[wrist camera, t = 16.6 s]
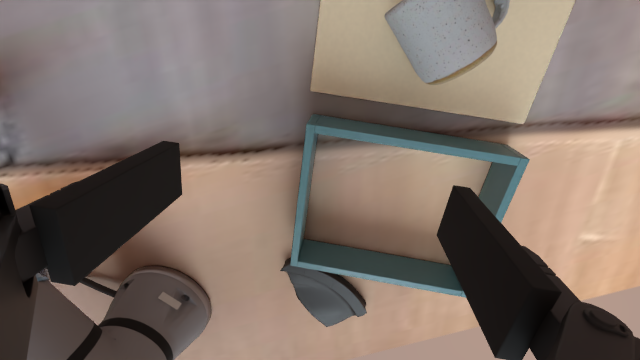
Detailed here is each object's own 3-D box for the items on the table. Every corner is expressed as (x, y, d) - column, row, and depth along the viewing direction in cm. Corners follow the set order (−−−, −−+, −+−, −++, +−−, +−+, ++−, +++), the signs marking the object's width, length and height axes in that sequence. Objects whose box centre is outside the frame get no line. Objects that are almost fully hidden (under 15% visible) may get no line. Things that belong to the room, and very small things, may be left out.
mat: (310, 90, 35) (310, 91, 34) (334, -113, 27) (333, -115, 27) (522, 123, 34) (523, 124, 33) (606, -79, 26) (609, -81, 26)
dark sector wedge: (316, 242, 43) (315, 249, 42) (368, 304, 47) (369, 312, 45) (273, 267, 46) (270, 274, 44) (325, 323, 50) (324, 332, 48)
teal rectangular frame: (296, 242, 44) (289, 265, 39) (312, 113, 36) (306, 123, 31) (455, 271, 43) (467, 298, 38) (507, 144, 35) (530, 159, 30)
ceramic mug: (418, 86, 33) (437, 96, 26) (379, 17, 31) (387, 8, 24) (516, 22, 30) (567, 13, 23) (480, -60, 28) (524, -97, 20)
